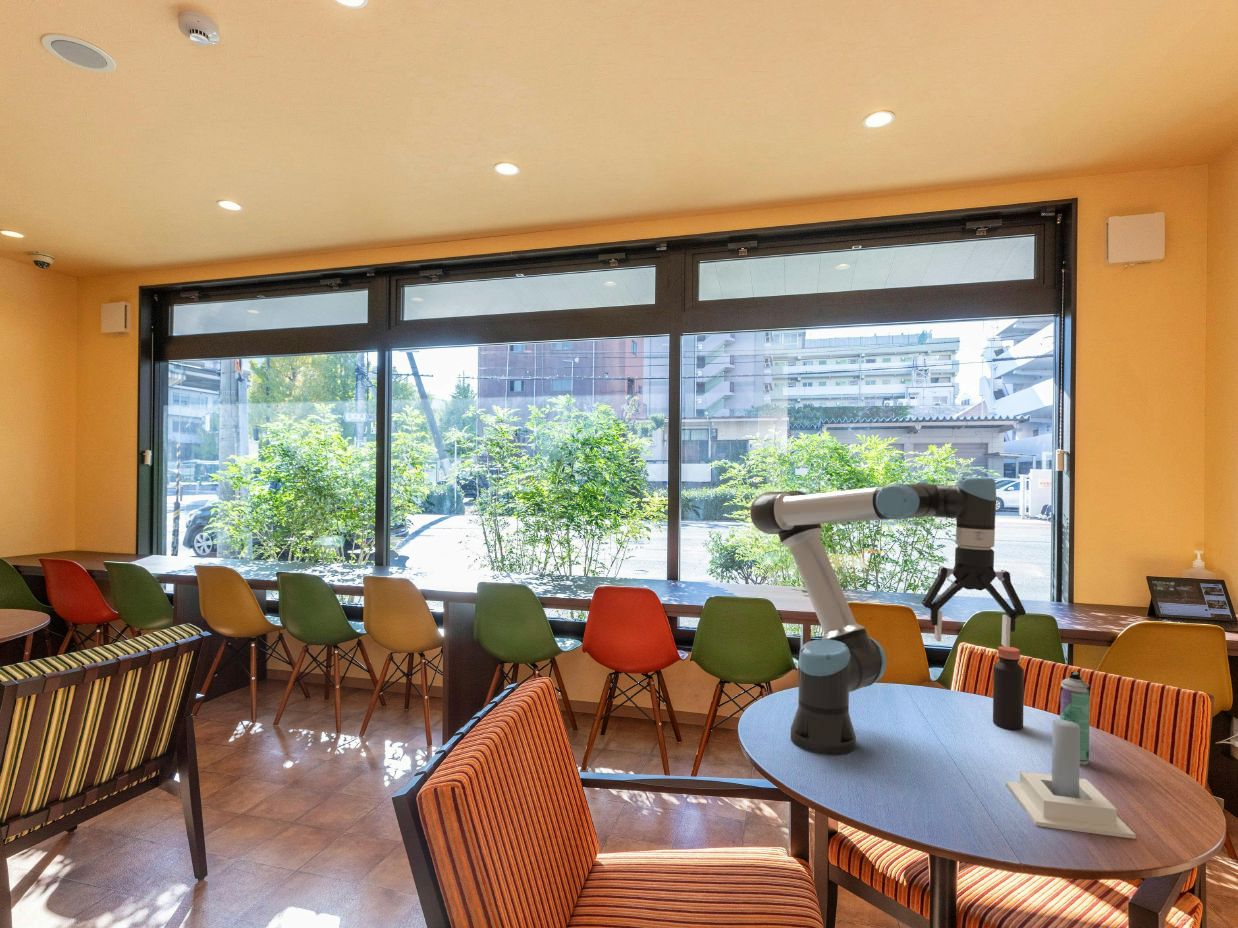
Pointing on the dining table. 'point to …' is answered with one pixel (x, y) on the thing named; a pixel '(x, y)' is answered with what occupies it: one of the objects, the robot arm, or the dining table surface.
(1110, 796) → the dining table surface
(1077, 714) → the spray can
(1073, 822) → the socket
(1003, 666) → the bottle
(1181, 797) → the dining table surface
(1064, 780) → the peg
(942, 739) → the dining table surface
